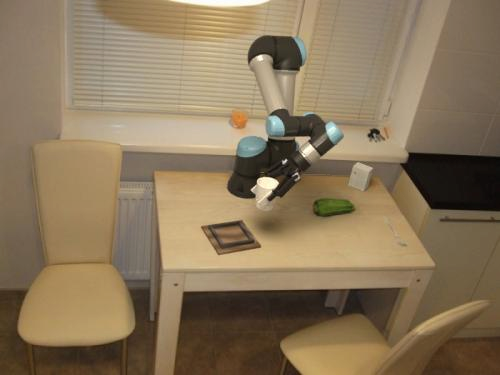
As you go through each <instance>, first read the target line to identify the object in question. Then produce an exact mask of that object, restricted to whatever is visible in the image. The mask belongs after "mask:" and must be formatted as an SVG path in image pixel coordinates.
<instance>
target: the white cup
mask: <svg viewBox="0 0 500 375" xmlns="http://www.w3.org/2000/svg"><path fill="white" fill-rule="evenodd" d="M279 183H280V182H279V181H278V180H277V179H276V178H275V179H273V178H269V177H264V176H263V177H262V176H261V178H259V179H258V180H257V187H256V197H255V204H254V205H255V207H256V209H258V210H260V211H263V212H264V211H265V212H269V211H272V210H273V209H274V207H275V202H276V200H277V199H276V198H277V197H275V198H274V199H273V200H272V201H270V202H269V203H267V204H266V205H265V206H264V207H262V206H261V205H260V204H259V203H258V201H260V200H261V199H262V198H263V197H264V196H265V195H267V194H268V193H269V192H271V191H272V190H275V188H276V187H277V185H278V184H279Z"/></svg>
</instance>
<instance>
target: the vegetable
mask: <svg viewBox="0 0 500 375" xmlns="http://www.w3.org/2000/svg"><path fill="white" fill-rule="evenodd" d="M356 207H357V206H356V204H354V203H353V202H351V201H350V200H349V199H344V198H331V197H323V198H321V197H320V198H318V199H316V200H314V202H313V205H312V210H313V212H314V213H315V214H316V215H317V216H325V217H326V216H330V215H337V214H348V213H351V212H352V211H355V209H356Z"/></svg>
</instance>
